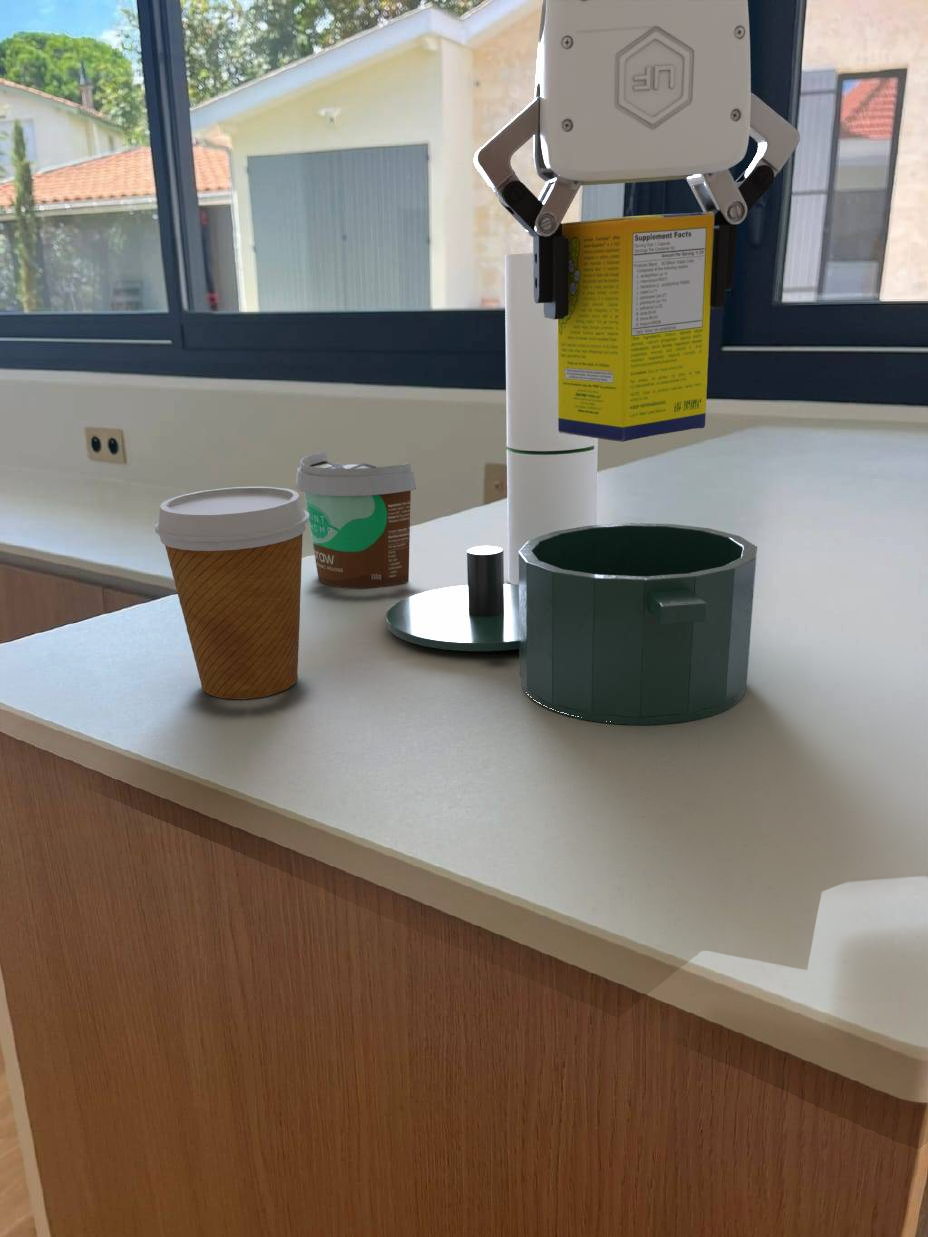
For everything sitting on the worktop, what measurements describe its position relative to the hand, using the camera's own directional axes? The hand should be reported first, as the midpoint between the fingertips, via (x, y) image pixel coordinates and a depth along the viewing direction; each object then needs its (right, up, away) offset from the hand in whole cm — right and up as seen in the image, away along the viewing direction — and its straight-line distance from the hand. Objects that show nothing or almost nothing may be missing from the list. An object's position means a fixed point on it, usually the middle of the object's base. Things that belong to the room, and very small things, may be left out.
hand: (632, 310), depth 59 cm
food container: (-17, -10, +36) cm, 41 cm away
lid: (-6, -14, +21) cm, 26 cm away
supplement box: (0, -6, +2) cm, 7 cm away
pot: (+2, -20, +10) cm, 22 cm away
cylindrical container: (+1, -10, +33) cm, 34 cm away
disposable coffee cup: (-22, -20, +13) cm, 32 cm away
